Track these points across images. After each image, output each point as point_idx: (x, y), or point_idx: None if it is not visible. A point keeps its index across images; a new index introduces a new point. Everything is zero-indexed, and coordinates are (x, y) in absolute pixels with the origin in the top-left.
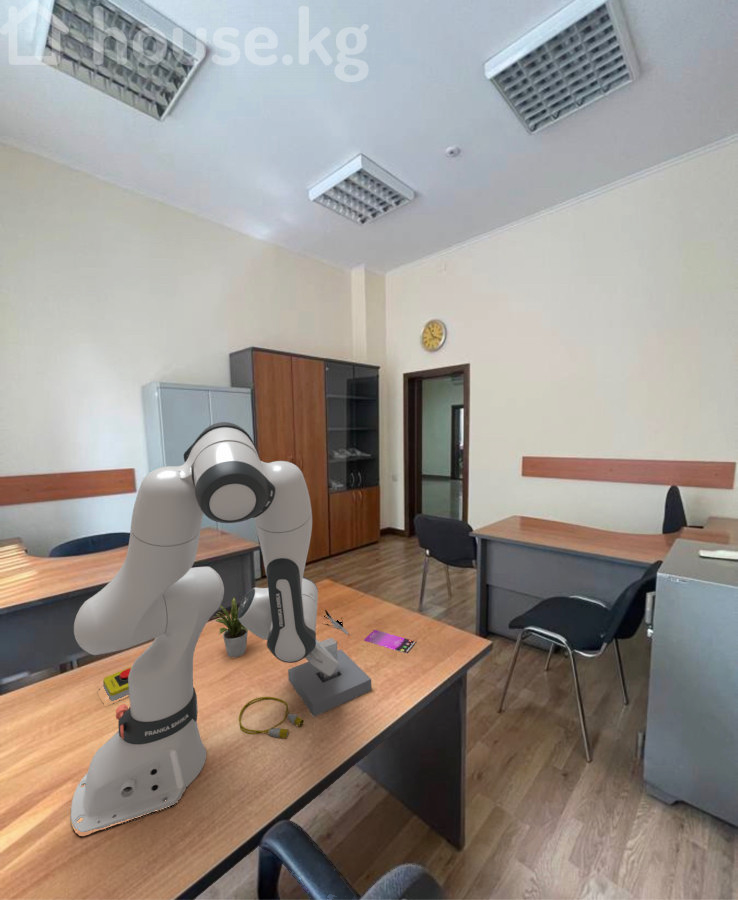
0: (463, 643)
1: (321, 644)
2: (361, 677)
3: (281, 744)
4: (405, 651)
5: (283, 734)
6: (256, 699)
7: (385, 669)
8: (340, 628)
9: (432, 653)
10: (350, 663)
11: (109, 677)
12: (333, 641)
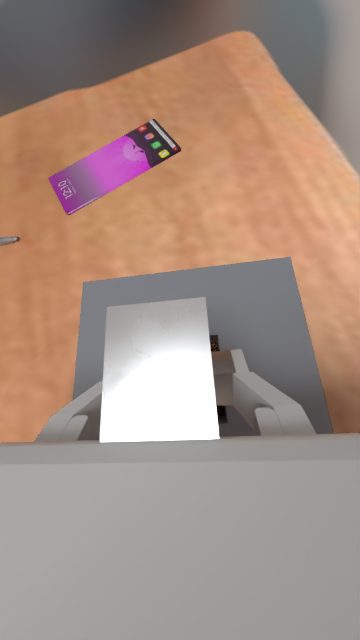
0: (215, 51)
1: (195, 476)
2: (267, 281)
3: None
4: (172, 149)
5: None
6: None
7: (210, 213)
8: None
9: (212, 107)
10: (173, 284)
11: None
12: (167, 316)
